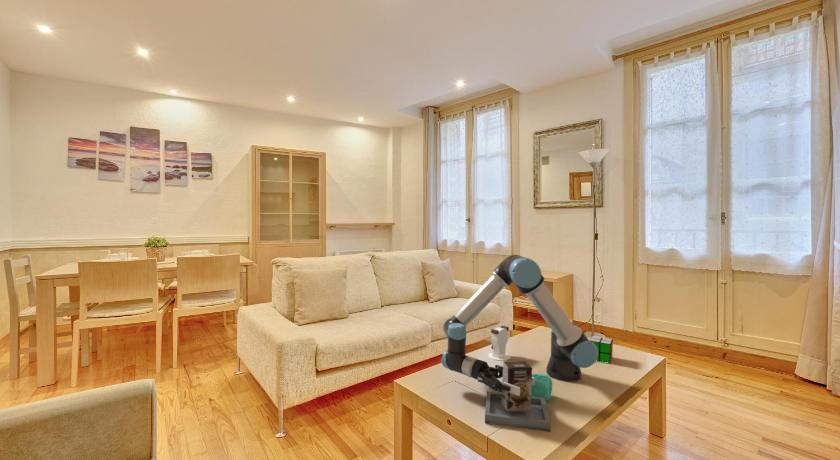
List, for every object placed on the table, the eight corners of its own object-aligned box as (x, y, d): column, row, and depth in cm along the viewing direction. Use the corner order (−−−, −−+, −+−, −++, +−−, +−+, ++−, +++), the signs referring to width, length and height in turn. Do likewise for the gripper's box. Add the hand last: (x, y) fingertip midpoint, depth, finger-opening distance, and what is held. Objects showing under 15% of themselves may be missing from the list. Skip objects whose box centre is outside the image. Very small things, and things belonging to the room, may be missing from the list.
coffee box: (507, 412, 134) (508, 368, 133) (501, 403, 141) (502, 360, 140) (531, 410, 135) (532, 367, 135) (524, 401, 142) (525, 360, 141)
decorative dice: (532, 390, 157) (532, 371, 157) (551, 395, 153) (552, 376, 153) (527, 398, 150) (527, 378, 150) (547, 403, 146) (548, 383, 146)
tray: (544, 405, 145) (544, 397, 144) (550, 431, 127) (550, 423, 127) (486, 398, 149) (486, 391, 149) (484, 423, 132) (485, 414, 131)
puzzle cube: (612, 357, 194) (613, 338, 194) (610, 364, 186) (611, 344, 186) (591, 353, 200) (592, 335, 199) (588, 359, 191) (589, 340, 191)
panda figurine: (496, 350, 202) (497, 323, 202) (515, 356, 195) (515, 327, 194) (483, 356, 194) (484, 327, 193) (502, 362, 186) (503, 332, 185)
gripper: (490, 369, 158) (540, 386, 143) (458, 387, 141) (511, 408, 126) (491, 352, 158) (541, 367, 143) (458, 367, 141) (511, 386, 126)
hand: (527, 386), depth 135 cm, fingers closed on coffee box, 10 cm apart
